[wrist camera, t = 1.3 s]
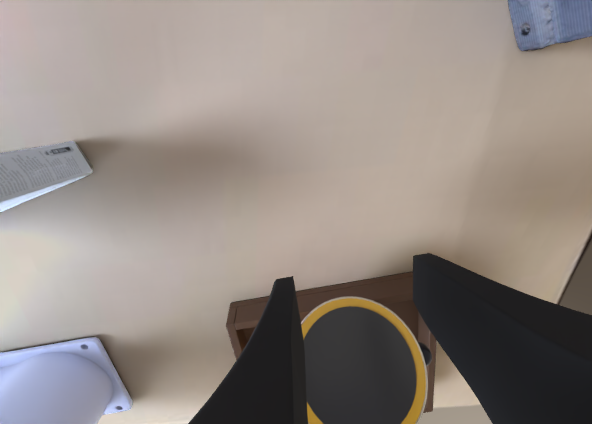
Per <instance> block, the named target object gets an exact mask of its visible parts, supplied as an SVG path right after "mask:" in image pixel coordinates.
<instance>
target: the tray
mask: <svg viewBox="0 0 592 424" xmlns="http://www.w3.org/2000/svg"><path fill="white" fill-rule="evenodd" d="M347 296H353V297H362V298H366V299H370V300H373V301H375V302H378V303H380V304H382V305H383V306H385V307H387V308H388V309H390V310H391V311H392V312H394V313H395V314H396V315H397V316H398V317H399V318H401V319H402V320H403V322H404V323H405V324H406V325H407V326H408V327H409V329H410V330H411V332H412V333H413V335H414V336H415V338H416V340H417V342H421V343H423V344H425V345H426V346H427V347H428V348H429V349H430V351H431V354H432V361H431V363H430V364H429V365H428V366H427V367H426V369H427V377H428V391H427V399H426V404H425V408H424V411H423V413H425V412H431V411H432V410H433V395H434V376H435V358H436V338H435V337H434V336H433V334H432V333H431V331H430V330H429V329H428V327H427V326H426V324H425V322H424V320H423V319H422V317H421V315H420V313H419V311H418V309H417V308H416V306H415V304H414V302H413V272H408V273H402V274H396V275H390V276H384V277H379V278H373V279H367V280H361V281H355V282H350V283H344V284H338V285H332V286H326V287H320V288H315V289H309V290H303V291H297V292H296V297H297V302H298V308H299V314H300V319H301V322H302V321H303V319H304V318H305V317H306V316H307V315H308V314H309V313H310V312H311V311H312V310H313V309H314V308H316V307H317V306H319V305H320V304H322V303H324V302H326V301H329V300H331V299H335V298H339V297H347ZM269 297H270V296H268V297H262V298H256V299H251V300H245V301H239V302H233V303H231V304H230V309H229V313H228V318H227V323H226V327H227V331H228V334H229V337H230V340H231V344H232V347H233V350H234V354H235V357H236V360H237V359H238V358H239V356H240V354H241V353H242V351H243V350H244V348H245V346H246V344H247V343H248V341H249V339H250V337H251V335H252V333H253V332H254V330H255V328H256V326H257V324H258V322H259V320H260V318H261V316H262V313H263V311H264V309H265V307H266V304H267V302H268V299H269Z"/></svg>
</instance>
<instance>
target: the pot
mask: <svg viewBox="0 0 592 424" xmlns="http://www.w3.org/2000/svg"><path fill="white" fill-rule="evenodd" d="M301 326H302V333H303V340H304V349H305V371H306V395H307V415H308V424H418V423H419V421H420V419H421V417H422V414H423V411H424V408H425V404H426V399H427V391H428V377H427V369H426V367H427V366H428V365H429V364H430V363H431V361H432V354H431V351H430V349H429V348H428V347H427V346H426V345H425V344H423V343H421V342H417V340H416V338H415V336H414V335H413V333H412V332H411V330H410V329H409V327H408V326H407V325H406V324H405V323H404V322H403V320H402V319H401V318H399V317H398V316H397V315H396V314H395V313H394V312H392V311H391V310H390V309H388V308H387V307H385V306H383V305H382V304H380V303H378V302H375V301H373V300H370V299H366V298H362V297H353V296H347V297H339V298H335V299H331V300H329V301H326V302H324V303H322V304H320V305H319V306H317V307H316V308H314V309H313V310H312V311H311V312H310V313H309V314H308V315H307V316H306V317H305V318H304V319H303V321H302V322H301Z"/></svg>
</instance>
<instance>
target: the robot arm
mask: <svg viewBox="0 0 592 424" xmlns="http://www.w3.org/2000/svg"><path fill="white" fill-rule="evenodd" d="M413 302H414V304H415V306H416V308H417V309H418V311H419V313H420V315H421V317H422V319H423V320H424V322H425V324H426V326H427V327H428V329H429V330H430V331H431V333H432V334H433V336H434V337H435V338H436V340H437V341H438V343H439V344H440V346H441V347H442V348H443V350H444V351H445V352H446V354H447V355H448V357H449V358H450V359H451V361H452V362H453V364H454V365H455V366H456V368H457V369H458V371H459V372H460V373H461V375H462V376H463V377H464V379H465V380H466V382H467V383H468V385H469V386H470V388H471V389H472V391H473V392H474V394H475V395H476V397H477V398H478V400H479V402H480V403H481V405H482V407H483V408H484V410H485V412H486V413H487V415H488V417H489V418H490V420H491V422H492V423H493V424H592V315H589V314H585V313H581V312H578V311H575V310H572V309H569V308H566V307H563V306H560V305H557V304H554V303H551V302H548V301H545V300H542V299H539V298H536V297H533V296H530V295H528V294H525V293H523V292H520V291H517V290H515V289H512V288H510V287H507V286H505V285H502V284H500V283H497V282H495V281H493V280H490V279H488V278H486V277H483V276H481V275H479V274H477V273H474V272H472V271H470V270H468V269H465V268H463V267H461V266H459V265H456V264H454V263H452V262H450V261H448V260H445V259H443V258H441V257H438V256H436V255H433V254H430V253H427V254H421V255H415V256H413ZM132 405H133V401H132V399H131V398H130V396H129V394H128V392H127V390H126V388H125V386H124V384H123V383H122V381H121V379H120V377H119V375H118V373H117V371H116V369H115V368H114V366H113V364H112V362H111V360H110V358H109V356H108V355H107V353H106V351H105V349H104V347H103V345H102V343H101V341H100V340H99V339H98V338H95V337H91V338H85V339H79V340H73V341H67V342H62V343H56V344H50V345H44V346H38V347H33V348H27V349H21V350H15V351H9V352H4V353H0V424H97V423H98V422H99V420H100V418H101V416H102V415H104V414H110V413H116V412H121V411H127V410H130V409H131V407H132ZM188 424H308V415H307V395H306V371H305V349H304V340H303V333H302V326H301V319H300V314H299V308H298V302H297V297H296V291H295V285H294V280H293V276H292V277H286V278H280V279H276V281H275V282H274V285H273V288H272V291H271V294H270V297H269V299H268V302H267V304H266V307H265V309H264V311H263V313H262V316H261V318H260V320H259V322H258V324H257V326H256V328H255V330H254V332H253V333H252V335H251V337H250V339H249V341H248V343H247V344H246V346H245V348H244V350H243V351H242V353H241V354H240V356H239V358H238V359H237V361H236V362H235V364H234V365H233V367H232V368H231V370H230V371H229V373H228V374H227V375H226V377H225V378H224V380H223V381H222V382H221V384H220V385H219V387H218V388H217V389H216V391H215V392H214V393H213V394H212V396H211V397H210V398H209V400H208V401H207V402H206V403H205V404H204V406H203V407H202V408H201V409H200V410H199V412H198V413H197V414H196V415H195V416H194V417H193V419H192V420H191V421H190V422H189V423H188Z"/></svg>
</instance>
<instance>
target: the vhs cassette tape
mask: <svg viewBox="0 0 592 424" xmlns="http://www.w3.org/2000/svg"><path fill="white" fill-rule="evenodd" d="M508 5H509V10H510V14H511V19H512V23H513V28H514V33H515V37H516V41H517V44H518V47H519V49H520V50H521V51H528V50H537V49H543V48H545V47H547V46H549V45H551V44H556V43H567V42H570V41H574V40H578V39H582V38H586V37H590V36H592V0H508Z"/></svg>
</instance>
